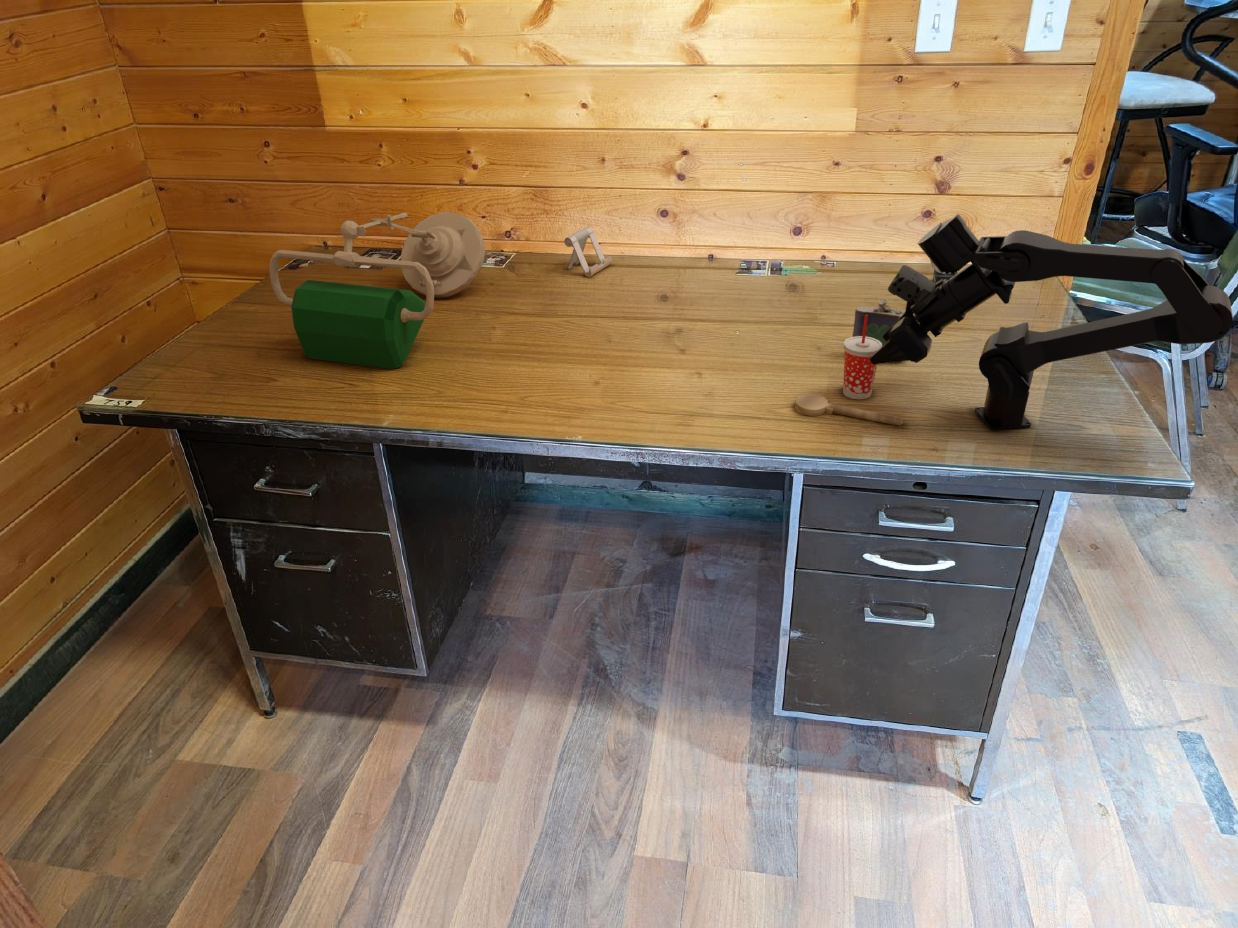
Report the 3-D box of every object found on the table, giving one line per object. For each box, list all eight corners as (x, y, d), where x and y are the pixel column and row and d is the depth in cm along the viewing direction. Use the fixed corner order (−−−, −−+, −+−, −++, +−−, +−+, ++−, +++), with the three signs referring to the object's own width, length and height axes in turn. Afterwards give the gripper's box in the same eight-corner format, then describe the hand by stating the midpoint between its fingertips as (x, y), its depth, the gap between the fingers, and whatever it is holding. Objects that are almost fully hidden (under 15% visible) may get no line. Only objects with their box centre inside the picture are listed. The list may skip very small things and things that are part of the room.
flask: (848, 356, 162) (855, 300, 156) (852, 349, 164) (859, 294, 158) (901, 364, 158) (910, 308, 153) (904, 357, 161) (912, 301, 155)
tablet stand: (591, 278, 199) (589, 241, 194) (562, 272, 202) (559, 236, 198) (612, 265, 205) (610, 229, 200) (583, 260, 209) (581, 224, 204)
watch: (922, 280, 191) (930, 229, 185) (962, 282, 189) (971, 231, 183) (924, 290, 186) (932, 238, 180) (965, 292, 184) (974, 240, 178)
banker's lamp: (349, 393, 198) (232, 332, 161) (393, 218, 204) (291, 122, 168) (491, 413, 188) (401, 354, 151) (533, 229, 194) (456, 130, 158)
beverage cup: (863, 405, 147) (873, 326, 139) (831, 393, 150) (839, 316, 143) (882, 391, 150) (893, 314, 143) (850, 380, 154) (859, 304, 146)
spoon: (905, 418, 143) (906, 410, 142) (898, 433, 139) (899, 425, 138) (800, 398, 150) (801, 390, 149) (791, 412, 146) (791, 404, 145)
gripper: (937, 234, 141) (860, 291, 151) (914, 275, 127) (830, 335, 137) (982, 288, 142) (902, 341, 152) (963, 334, 128) (876, 389, 138)
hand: (877, 350), depth 145 cm, fingers open, 9 cm apart
